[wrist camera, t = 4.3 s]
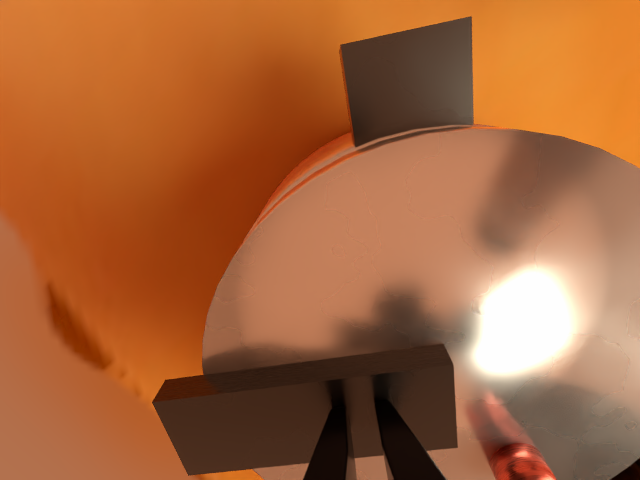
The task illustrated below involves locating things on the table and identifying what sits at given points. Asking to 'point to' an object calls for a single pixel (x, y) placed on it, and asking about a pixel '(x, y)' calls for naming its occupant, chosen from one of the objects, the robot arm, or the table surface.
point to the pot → (398, 91)
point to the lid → (430, 314)
